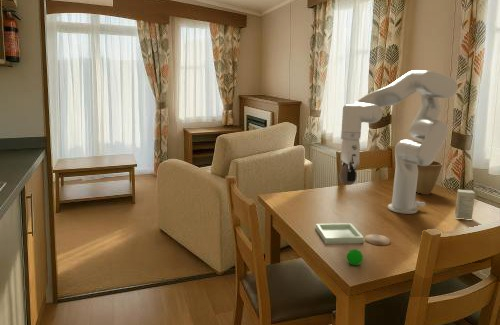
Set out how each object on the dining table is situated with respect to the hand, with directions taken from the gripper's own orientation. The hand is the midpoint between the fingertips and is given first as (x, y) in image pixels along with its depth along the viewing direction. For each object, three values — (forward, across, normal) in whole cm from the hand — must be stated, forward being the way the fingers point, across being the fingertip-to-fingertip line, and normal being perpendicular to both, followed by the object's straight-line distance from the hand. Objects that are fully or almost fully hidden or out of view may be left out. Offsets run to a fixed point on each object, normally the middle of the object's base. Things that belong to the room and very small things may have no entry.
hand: (347, 178), depth 169 cm
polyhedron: (+17, -41, +10) cm, 46 cm away
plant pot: (+18, +36, -53) cm, 66 cm away
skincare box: (+18, -2, -51) cm, 54 cm away
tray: (+17, -18, +8) cm, 26 cm away
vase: (+3, 0, 0) cm, 3 cm away
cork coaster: (+17, -23, -5) cm, 29 cm away
